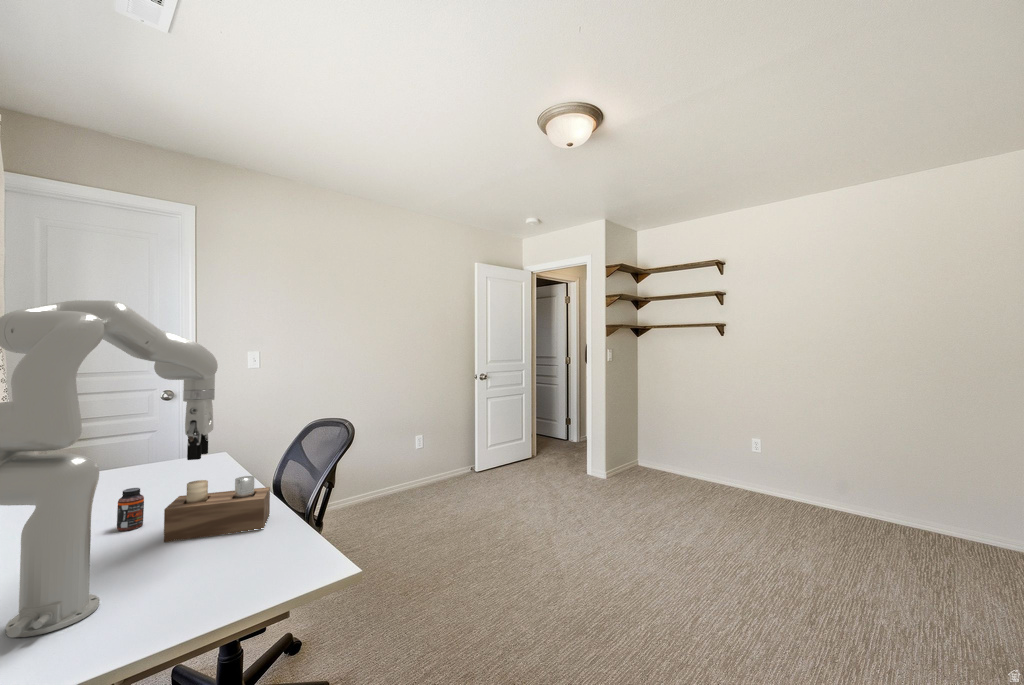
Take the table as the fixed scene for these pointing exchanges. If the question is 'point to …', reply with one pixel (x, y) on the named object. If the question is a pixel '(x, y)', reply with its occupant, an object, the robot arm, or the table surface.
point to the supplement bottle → (130, 510)
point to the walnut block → (216, 515)
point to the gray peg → (244, 487)
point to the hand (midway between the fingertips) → (197, 456)
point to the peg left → (197, 491)
